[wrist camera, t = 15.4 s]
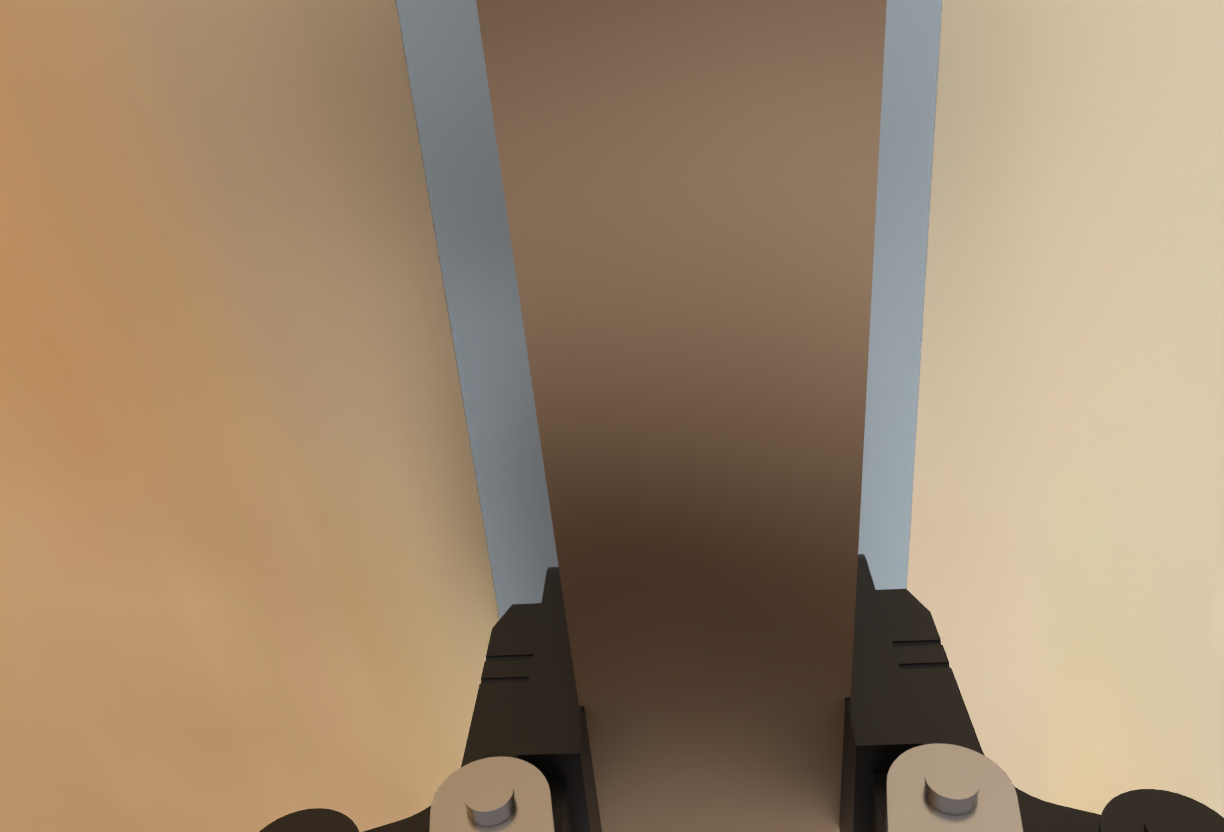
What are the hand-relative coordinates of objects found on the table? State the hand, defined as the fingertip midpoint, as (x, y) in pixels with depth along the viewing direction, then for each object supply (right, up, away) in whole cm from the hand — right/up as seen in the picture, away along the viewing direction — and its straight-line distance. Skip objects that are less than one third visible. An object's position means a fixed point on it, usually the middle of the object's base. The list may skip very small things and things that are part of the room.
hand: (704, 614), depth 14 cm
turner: (0, +1, +1) cm, 1 cm away
